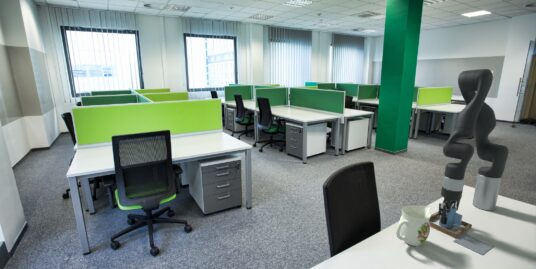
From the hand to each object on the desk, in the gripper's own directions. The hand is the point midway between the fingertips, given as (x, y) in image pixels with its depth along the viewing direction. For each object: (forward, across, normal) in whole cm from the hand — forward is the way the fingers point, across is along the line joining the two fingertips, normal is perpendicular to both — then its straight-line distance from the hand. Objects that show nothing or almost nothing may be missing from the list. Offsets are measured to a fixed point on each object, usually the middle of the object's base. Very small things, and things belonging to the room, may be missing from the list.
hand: (446, 221), depth 120 cm
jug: (+2, 0, +1) cm, 2 cm away
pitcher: (+2, +25, -2) cm, 25 cm away
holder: (+2, 0, 0) cm, 2 cm away
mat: (+2, +5, +12) cm, 14 cm away
